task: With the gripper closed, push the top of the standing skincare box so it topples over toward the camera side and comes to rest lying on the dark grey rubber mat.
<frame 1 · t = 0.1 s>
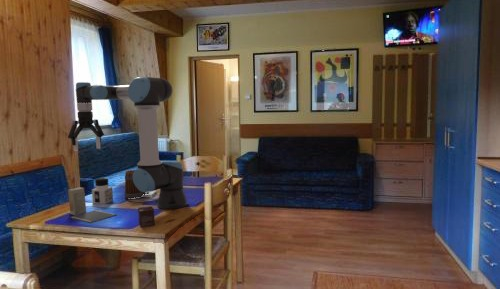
hand: (87, 150, 211), 28 cm above the table, fingers open, 13 cm apart
mat: (93, 216, 181), on the table
mug: (138, 197, 218), on the table
box: (146, 225, 167), on the table
container: (103, 202, 209), on the table
skincare box: (78, 213, 188), on the table
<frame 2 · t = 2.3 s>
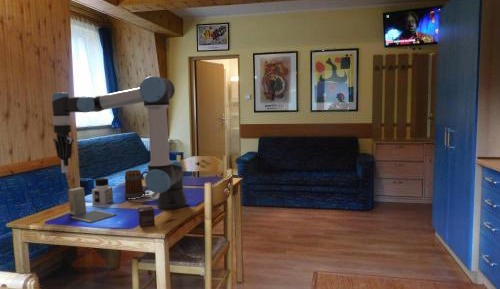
hand: (65, 172, 190), 20 cm above the table, fingers closed
nothing on the table moved.
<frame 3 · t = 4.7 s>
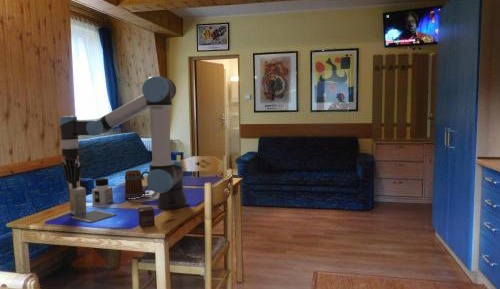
hand: (73, 195, 188), 8 cm above the table, fingers closed
skincare box: (78, 212, 188), on the table, touching gripper
everything else where it was.
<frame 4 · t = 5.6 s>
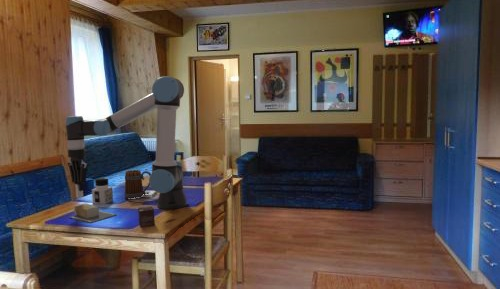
hand: (79, 197, 186), 8 cm above the table, fingers closed
skincare box: (79, 208, 186), point 3 cm above the table, touching mat
everything else where it was.
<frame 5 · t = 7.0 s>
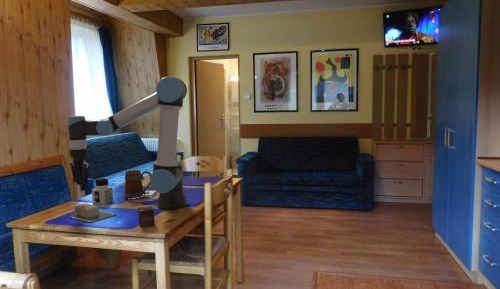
hand: (81, 197, 185), 8 cm above the table, fingers closed
nothing on the table moved.
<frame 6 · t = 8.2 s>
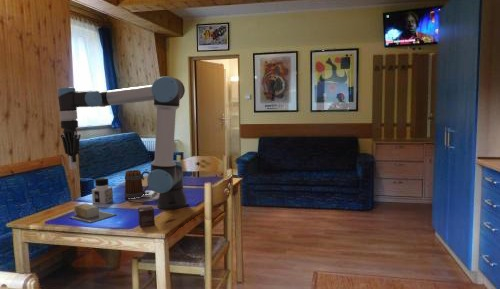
hand: (73, 168, 187), 22 cm above the table, fingers closed
nothing on the table moved.
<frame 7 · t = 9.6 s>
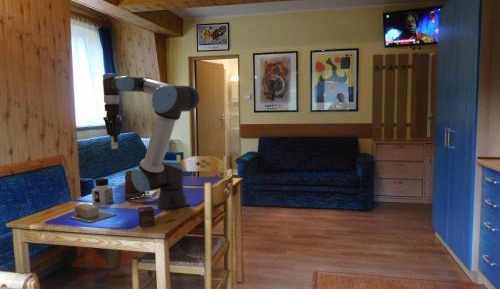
hand: (114, 148, 203), 29 cm above the table, fingers closed
nothing on the table moved.
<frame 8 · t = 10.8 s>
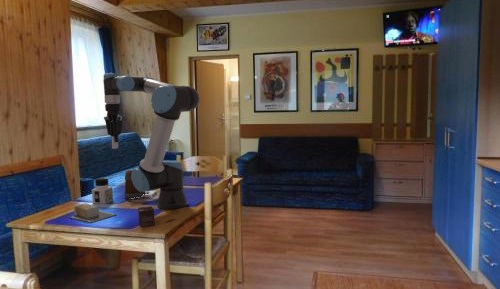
hand: (115, 148, 203), 29 cm above the table, fingers closed
nothing on the table moved.
at the end: skincare box tilted 90°; skincare box inside the target area (5.6 cm from its centre), point 2.5 cm above the table; the gripper is holding nothing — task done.
